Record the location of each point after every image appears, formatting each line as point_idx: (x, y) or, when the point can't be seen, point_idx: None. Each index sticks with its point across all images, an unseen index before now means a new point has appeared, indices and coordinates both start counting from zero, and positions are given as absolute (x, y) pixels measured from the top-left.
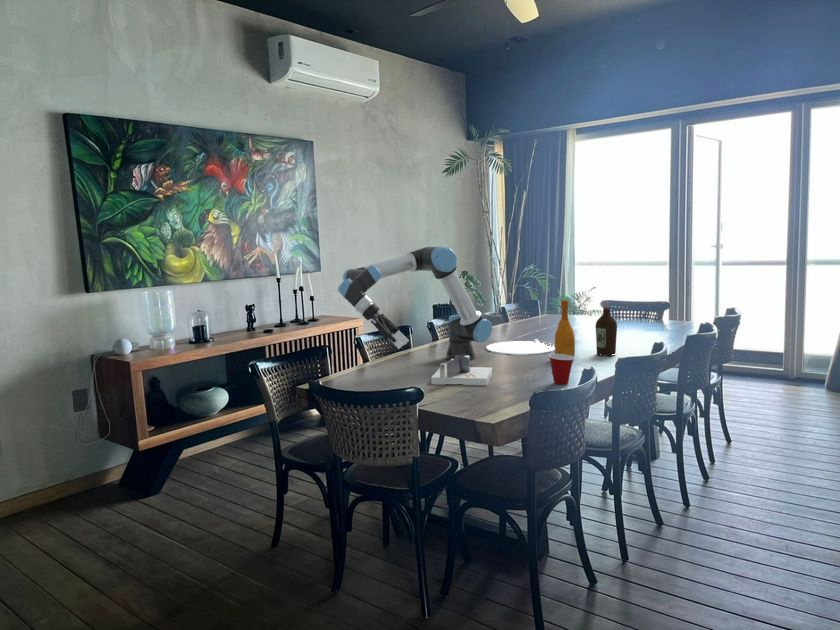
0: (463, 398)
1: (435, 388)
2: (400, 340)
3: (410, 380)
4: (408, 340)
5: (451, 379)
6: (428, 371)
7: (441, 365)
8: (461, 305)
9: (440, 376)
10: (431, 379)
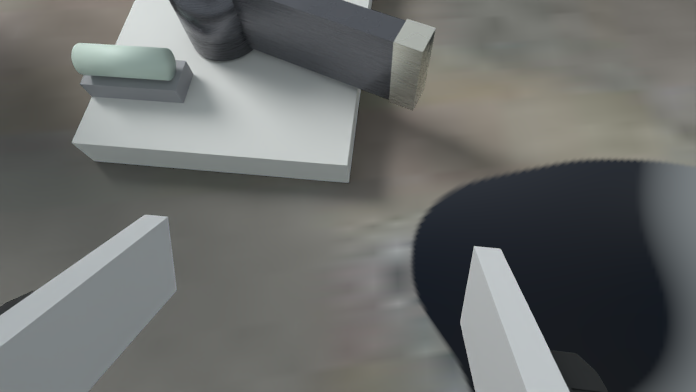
0: (602, 37)
1: (438, 156)
2: (125, 343)
3: (247, 310)
4: (161, 219)
5: None
6: (30, 228)
7: (425, 49)
8: None
9: (414, 102)
10: (347, 170)
